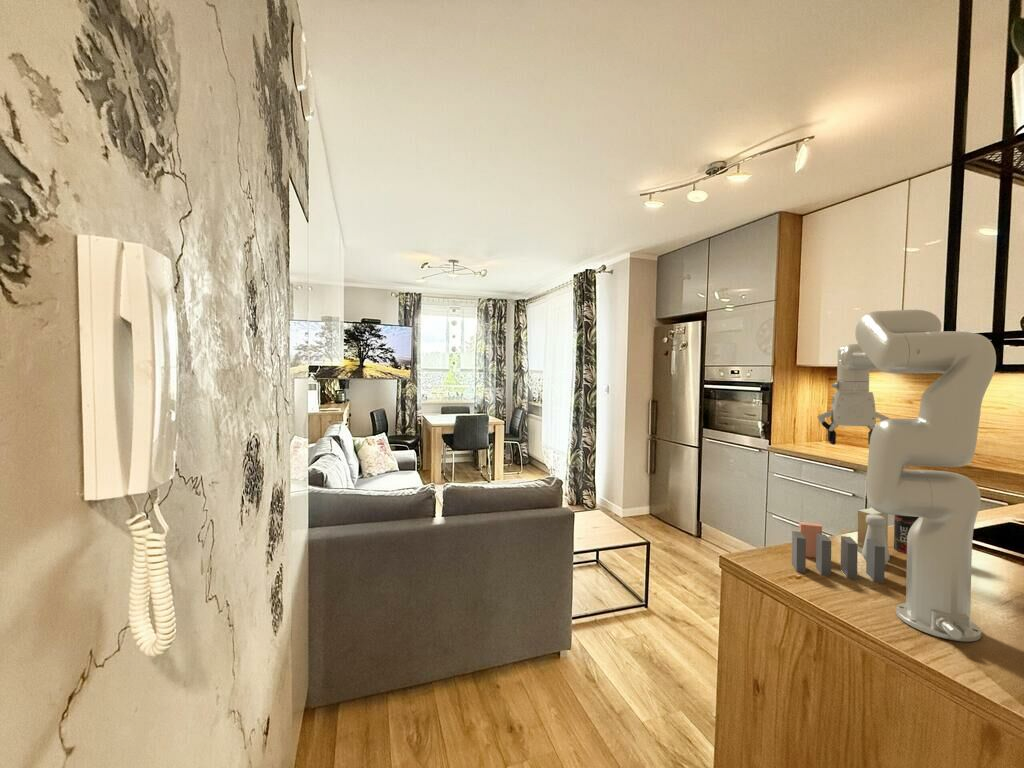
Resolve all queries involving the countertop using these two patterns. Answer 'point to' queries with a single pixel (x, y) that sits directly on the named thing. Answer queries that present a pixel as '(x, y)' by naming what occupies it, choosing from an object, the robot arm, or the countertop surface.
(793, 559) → the tile
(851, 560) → the tile
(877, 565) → the tile
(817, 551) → the tile
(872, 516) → the salt shaker
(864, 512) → the skincare box
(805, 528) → the head tile
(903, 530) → the deodorant
